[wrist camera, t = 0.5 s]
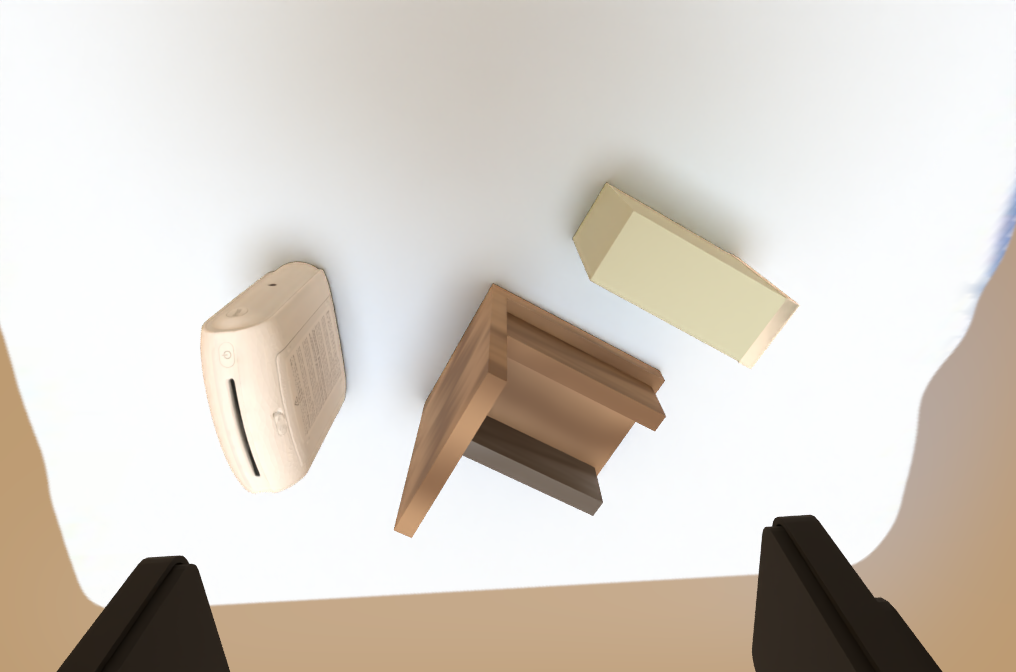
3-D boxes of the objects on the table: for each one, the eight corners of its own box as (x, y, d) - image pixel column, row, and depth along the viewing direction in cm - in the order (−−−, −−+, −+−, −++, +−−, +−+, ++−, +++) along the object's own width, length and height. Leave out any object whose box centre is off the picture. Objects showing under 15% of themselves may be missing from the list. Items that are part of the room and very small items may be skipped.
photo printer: (261, 261, 41) (167, 333, 29) (328, 256, 41) (259, 327, 29) (293, 404, 45) (220, 516, 33) (354, 400, 45) (302, 511, 33)
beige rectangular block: (606, 181, 39) (634, 209, 31) (739, 258, 41) (799, 305, 33) (572, 239, 40) (589, 281, 32) (702, 311, 42) (750, 369, 34)
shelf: (492, 283, 41) (487, 372, 29) (659, 371, 44) (721, 488, 31) (424, 403, 45) (393, 530, 32) (583, 478, 47) (612, 623, 35)
